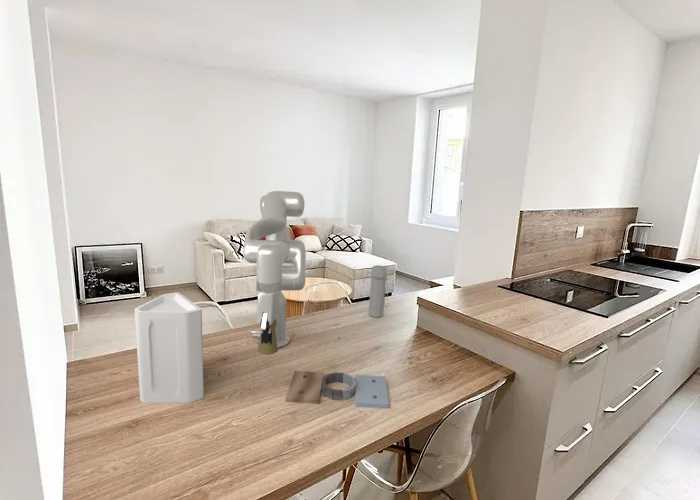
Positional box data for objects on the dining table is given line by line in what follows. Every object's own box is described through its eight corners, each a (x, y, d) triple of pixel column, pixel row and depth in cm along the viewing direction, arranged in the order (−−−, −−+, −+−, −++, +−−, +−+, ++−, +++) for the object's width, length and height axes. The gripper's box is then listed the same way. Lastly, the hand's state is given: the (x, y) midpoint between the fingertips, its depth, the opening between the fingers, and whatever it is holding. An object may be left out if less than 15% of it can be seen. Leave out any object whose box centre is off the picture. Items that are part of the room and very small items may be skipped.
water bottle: (367, 317, 183) (371, 268, 178) (369, 311, 191) (372, 264, 186) (386, 319, 182) (390, 270, 177) (387, 314, 189) (391, 266, 184)
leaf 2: (340, 405, 113) (341, 396, 112) (342, 376, 128) (343, 368, 128) (388, 408, 113) (388, 399, 112) (384, 379, 128) (385, 371, 128)
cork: (281, 348, 121) (281, 316, 118) (271, 356, 115) (272, 322, 113) (264, 344, 123) (265, 312, 120) (254, 352, 117) (254, 319, 115)
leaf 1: (285, 401, 113) (286, 392, 112) (294, 373, 129) (294, 365, 128) (341, 405, 113) (341, 396, 112) (343, 377, 128) (343, 369, 128)
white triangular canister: (131, 386, 116) (125, 300, 110) (180, 371, 126) (177, 291, 120) (151, 417, 103) (146, 321, 97) (204, 397, 113) (202, 309, 107)
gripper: (263, 277, 122) (263, 328, 127) (249, 294, 106) (248, 353, 110) (286, 278, 122) (285, 330, 126) (275, 296, 106) (274, 354, 110)
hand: (268, 340), depth 118 cm, fingers closed on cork, 3 cm apart
